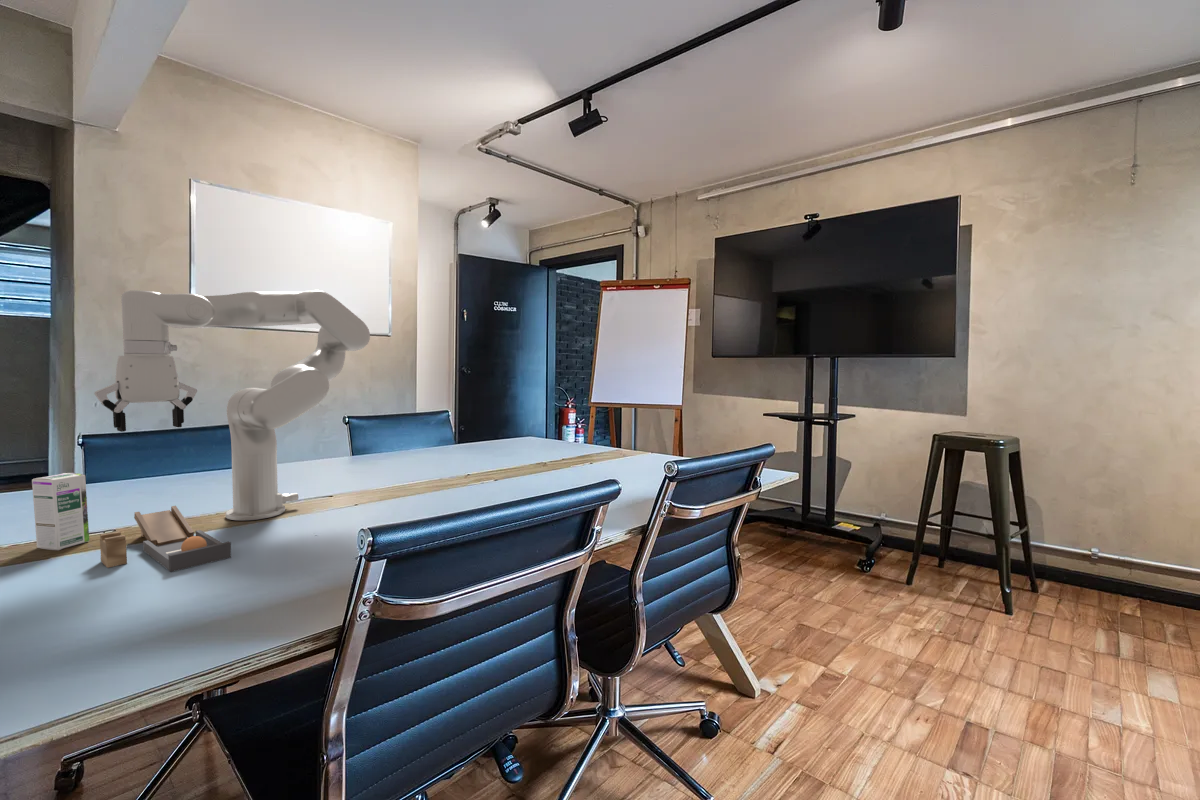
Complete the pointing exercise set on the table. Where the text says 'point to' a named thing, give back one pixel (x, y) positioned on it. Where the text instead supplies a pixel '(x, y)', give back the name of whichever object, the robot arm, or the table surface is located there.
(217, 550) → the lane
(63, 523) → the syrup box
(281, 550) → the table surface
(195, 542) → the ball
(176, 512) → the ramp
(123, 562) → the wooden upright block
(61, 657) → the table surface
